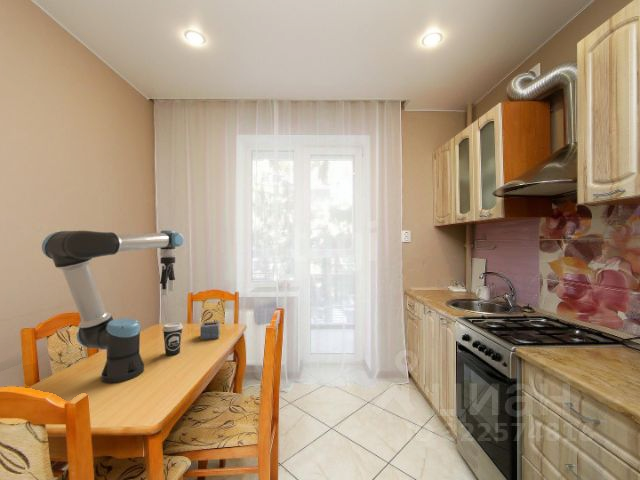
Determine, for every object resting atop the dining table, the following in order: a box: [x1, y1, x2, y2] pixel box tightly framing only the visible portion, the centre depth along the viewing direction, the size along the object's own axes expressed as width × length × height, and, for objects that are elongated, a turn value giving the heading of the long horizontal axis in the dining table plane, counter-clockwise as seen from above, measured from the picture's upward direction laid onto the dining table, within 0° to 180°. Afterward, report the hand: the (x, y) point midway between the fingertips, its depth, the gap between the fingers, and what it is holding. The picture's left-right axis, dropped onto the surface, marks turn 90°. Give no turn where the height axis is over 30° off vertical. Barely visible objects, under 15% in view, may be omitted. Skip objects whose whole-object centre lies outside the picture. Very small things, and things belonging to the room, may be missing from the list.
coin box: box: [199, 320, 221, 341], centre depth 163 cm, size 10×10×8 cm
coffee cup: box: [161, 321, 184, 357], centre depth 139 cm, size 10×10×15 cm
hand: (167, 293), depth 155 cm, fingers open, 13 cm apart
